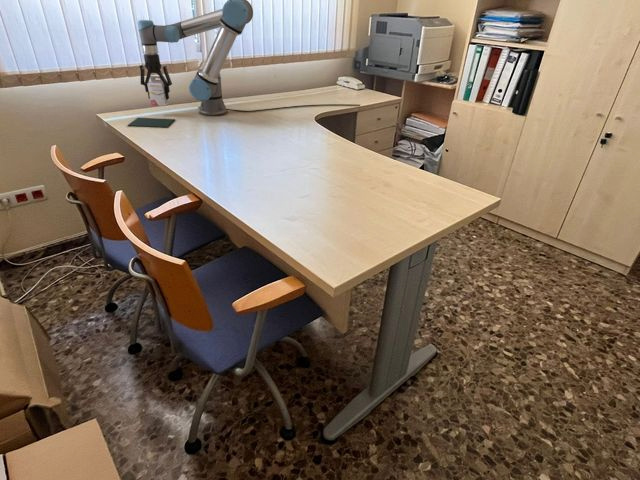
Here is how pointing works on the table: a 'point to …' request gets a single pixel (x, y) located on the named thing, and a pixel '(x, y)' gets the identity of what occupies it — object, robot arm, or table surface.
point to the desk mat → (152, 122)
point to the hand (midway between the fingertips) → (159, 98)
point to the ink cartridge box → (157, 92)
